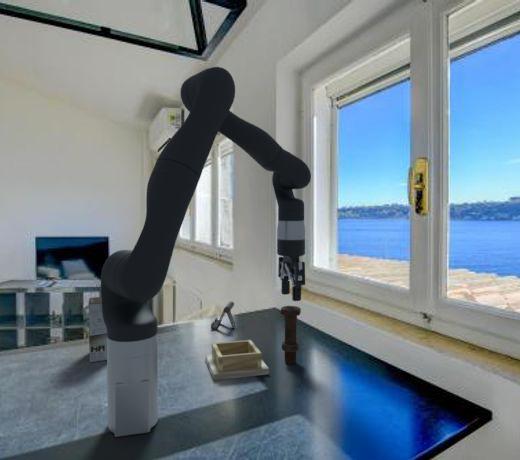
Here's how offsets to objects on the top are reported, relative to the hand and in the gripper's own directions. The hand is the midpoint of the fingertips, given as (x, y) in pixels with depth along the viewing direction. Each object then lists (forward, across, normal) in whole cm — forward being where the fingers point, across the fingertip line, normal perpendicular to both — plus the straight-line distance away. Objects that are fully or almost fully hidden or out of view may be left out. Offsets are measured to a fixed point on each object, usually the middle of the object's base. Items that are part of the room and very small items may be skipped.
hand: (290, 297), depth 106 cm
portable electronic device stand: (+18, +38, +11) cm, 44 cm away
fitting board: (+18, +1, +15) cm, 23 cm away
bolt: (+18, 0, 0) cm, 18 cm away
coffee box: (+18, +19, +50) cm, 56 cm away
